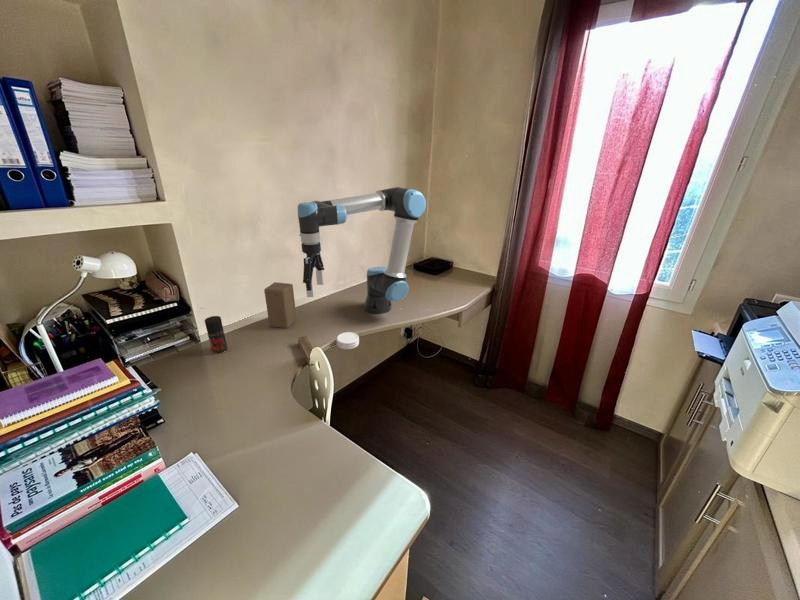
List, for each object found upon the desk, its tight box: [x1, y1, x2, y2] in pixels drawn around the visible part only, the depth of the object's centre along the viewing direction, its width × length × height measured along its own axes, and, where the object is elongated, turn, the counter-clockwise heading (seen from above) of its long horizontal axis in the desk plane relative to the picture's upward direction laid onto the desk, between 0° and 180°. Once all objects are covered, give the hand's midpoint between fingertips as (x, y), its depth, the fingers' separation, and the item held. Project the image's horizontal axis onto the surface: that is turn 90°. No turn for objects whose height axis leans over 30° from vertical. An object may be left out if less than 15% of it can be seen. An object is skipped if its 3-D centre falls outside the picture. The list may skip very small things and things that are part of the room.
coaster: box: [335, 331, 360, 350], centre depth 151 cm, size 10×10×4 cm
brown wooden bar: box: [297, 335, 314, 366], centre depth 143 cm, size 4×18×4 cm, turn 28°
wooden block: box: [263, 282, 297, 329], centre depth 163 cm, size 10×10×20 cm
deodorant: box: [204, 315, 228, 354], centre depth 141 cm, size 6×6×15 cm
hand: (315, 290), depth 145 cm, fingers open, 13 cm apart
